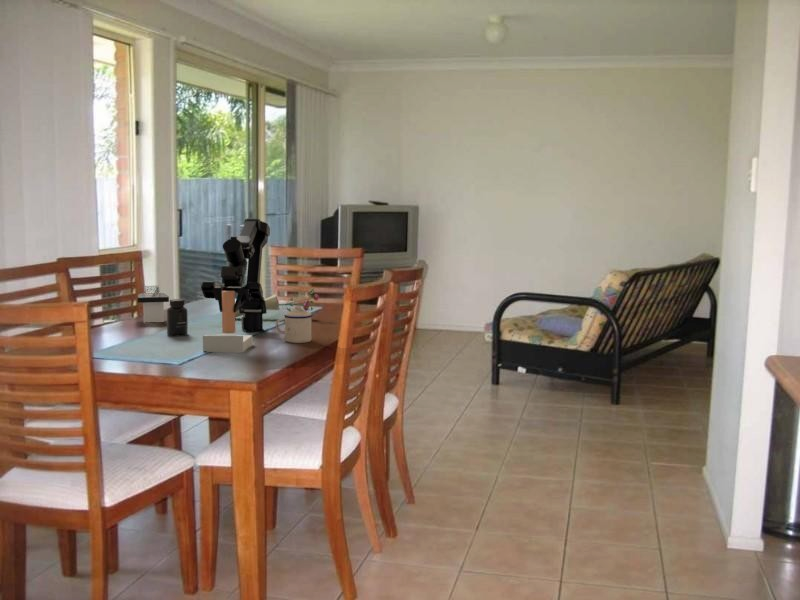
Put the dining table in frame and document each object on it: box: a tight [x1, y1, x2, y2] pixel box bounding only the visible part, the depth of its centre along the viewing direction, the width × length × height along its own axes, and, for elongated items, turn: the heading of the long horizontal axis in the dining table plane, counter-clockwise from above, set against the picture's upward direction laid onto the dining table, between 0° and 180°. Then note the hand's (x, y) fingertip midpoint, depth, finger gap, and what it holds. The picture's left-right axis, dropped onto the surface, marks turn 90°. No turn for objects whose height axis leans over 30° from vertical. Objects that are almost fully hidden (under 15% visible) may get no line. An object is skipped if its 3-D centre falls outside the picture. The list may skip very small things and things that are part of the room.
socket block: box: [202, 334, 253, 354], centre depth 253 cm, size 14×12×5 cm
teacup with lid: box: [275, 305, 313, 344], centre depth 267 cm, size 12×9×12 cm
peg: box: [221, 290, 236, 334], centre depth 252 cm, size 4×4×13 cm
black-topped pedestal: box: [137, 285, 170, 324], centre depth 303 cm, size 28×26×13 cm
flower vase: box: [235, 287, 319, 318], centre depth 312 cm, size 12×12×35 cm
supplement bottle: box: [166, 298, 189, 336], centre depth 275 cm, size 7×7×12 cm
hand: (227, 311), depth 251 cm, fingers closed on peg, 4 cm apart
